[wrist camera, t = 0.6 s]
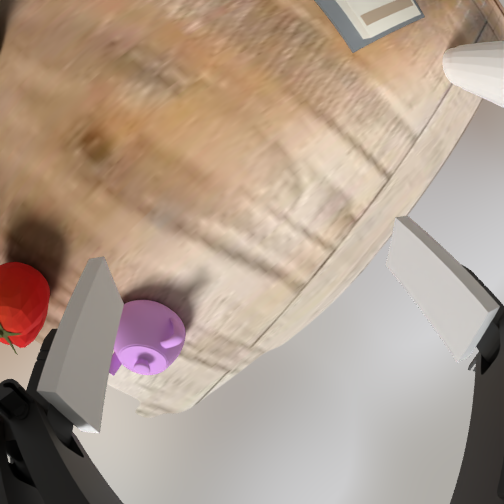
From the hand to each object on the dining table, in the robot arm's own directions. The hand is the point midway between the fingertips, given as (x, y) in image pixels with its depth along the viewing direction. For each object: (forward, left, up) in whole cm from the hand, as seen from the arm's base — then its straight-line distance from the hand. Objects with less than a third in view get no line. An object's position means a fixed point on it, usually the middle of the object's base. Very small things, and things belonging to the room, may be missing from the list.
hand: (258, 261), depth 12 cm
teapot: (+15, -32, -27) cm, 44 cm away
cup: (+10, +39, -27) cm, 49 cm away
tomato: (-7, -41, -27) cm, 49 cm away
